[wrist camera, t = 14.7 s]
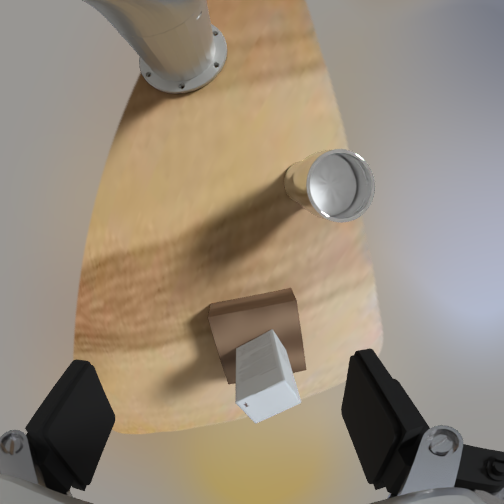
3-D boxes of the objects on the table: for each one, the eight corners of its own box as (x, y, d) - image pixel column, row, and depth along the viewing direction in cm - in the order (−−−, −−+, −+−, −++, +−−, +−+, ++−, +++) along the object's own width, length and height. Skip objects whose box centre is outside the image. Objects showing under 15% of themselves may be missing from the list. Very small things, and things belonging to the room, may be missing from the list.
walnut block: (211, 302, 43) (207, 317, 38) (290, 286, 43) (296, 300, 38) (229, 365, 46) (228, 384, 41) (300, 352, 46) (306, 369, 41)
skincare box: (251, 368, 40) (254, 425, 29) (235, 347, 39) (233, 402, 28) (287, 349, 40) (302, 403, 28) (273, 327, 39) (284, 379, 27)
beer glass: (285, 212, 40) (311, 231, 25) (275, 162, 38) (297, 152, 23) (333, 202, 40) (381, 217, 25) (324, 154, 38) (370, 142, 23)
